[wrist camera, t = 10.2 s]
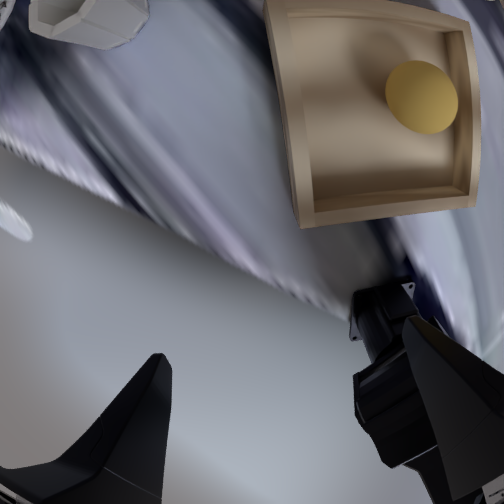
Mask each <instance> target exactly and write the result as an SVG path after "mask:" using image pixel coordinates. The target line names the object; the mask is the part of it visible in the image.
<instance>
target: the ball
mask: <svg viewBox="0 0 504 504" xmlns="http://www.w3.org/2000/svg"><path fill="white" fill-rule="evenodd" d="M385 95H386V100H387V104H388V107H389V109H390V111H391V112H392V114H393V115H394V117H395V118H396V119H397V120H398V121H399V122H400V123H401V124H402V125H403V126H405V127H406V128H408V129H410V130H412V131H414V132H417V133H421V134H434V133H438V132H441V131H443V130H444V129H446V128H447V127H448V126H449V125H450V124H451V123H452V122H453V120H454V118H455V116H456V113H457V109H458V97H457V93H456V90H455V87H454V85H453V83H452V82H451V80H450V79H449V77H448V76H447V75H446V74H445V73H444V72H443V71H442V70H441V69H439V68H438V67H436V66H435V65H433V64H431V63H428V62H425V61H419V60H413V61H407V62H404V63H402V64H400V65H398V66H397V67H396V68H394V69H393V71H392V72H391V73H390V75H389V77H388V79H387V82H386V88H385Z"/></svg>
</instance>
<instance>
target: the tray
mask: <svg viewBox="0 0 504 504" xmlns="http://www.w3.org/2000/svg"><path fill="white" fill-rule="evenodd" d="M262 11H263V15H264V20H265V25H266V30H267V36H268V41H269V46H270V52H271V57H272V63H273V68H274V74H275V80H276V86H277V92H278V99H279V105H280V112H281V118H282V125H283V132H284V139H285V146H286V154H287V162H288V169H289V178H290V186H291V194H292V203H293V212H294V215H295V217H296V220H297V222H298V225H299V227H300V229H306V228H313V227H320V226H328V225H335V224H342V223H349V222H356V221H364V220H371V219H379V218H386V217H394V216H402V215H410V214H417V213H425V212H434V211H442V210H450V209H458V208H467V207H475V206H476V199H477V191H478V182H479V171H480V155H481V105H480V90H479V79H478V70H477V62H476V55H475V49H474V44H473V38H472V33H471V29H470V24H469V22H468V21H465V20H462V19H459V18H456V17H453V16H450V15H447V14H443V13H440V12H437V11H433V10H429V9H425V8H422V7H417V6H413V5H408V4H404V3H399V2H393V1H388V0H264V5H263V10H262ZM413 60H419V61H425V62H428V63H431V64H433V65H435V66H436V67H438V68H439V69H441V70H442V71H443V72H444V73H445V74H446V75H447V76H448V77H449V79H450V80H451V82H452V83H453V85H454V87H455V90H456V93H457V97H458V109H457V113H456V116H455V118H454V120H453V122H452V123H451V124H450V125H449V126H448V127H447V128H446V129H444V130H443V131H441V132H438V133H434V134H421V133H417V132H414V131H412V130H410V129H408V128H406V127H405V126H403V125H402V124H401V123H400V122H399V121H398V120H397V119H396V118H395V117H394V115H393V114H392V112H391V111H390V109H389V107H388V104H387V100H386V95H385V88H386V82H387V79H388V77H389V75H390V73H391V72H392V71H393V69H394V68H396V67H397V66H398V65H400V64H402V63H404V62H407V61H413Z"/></svg>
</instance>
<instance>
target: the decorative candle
mask: <svg viewBox="0 0 504 504" xmlns="http://www.w3.org/2000/svg"><path fill="white" fill-rule="evenodd" d="M15 1H16V0H0V30H1V29H2V28H3V27H4V25H5V23H6V21H7V19H8V17H9V15H10V14H11V12H12V10H13V7H14V4H15Z"/></svg>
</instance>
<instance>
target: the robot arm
mask: <svg viewBox="0 0 504 504" xmlns="http://www.w3.org/2000/svg"><path fill="white" fill-rule="evenodd" d="M409 285H410V286H409ZM414 289H415V283H414V282H413V280H407V281H402V282H398V283H393V284H388V285H383V286H378V287H373V288H368V289H363V290H358V291H355V292H354V293H353V298H352V311H351V323H350V333H349V338H350V340H351V341H357V340H363V343H364V345H365V347H366V350H367V353H368V356H369V358H370V361H371V363H372V364H371V365H369V366H368V367H366V368H365V369H363V370H362V371H360V372H357V373H356V374H354V375H353V385H354V386H353V387H354V407H355V416H356V418H357V420H358V423H359V424H360V425H361V427H362V428H363V429H364V430H365V432H366V433H368V434H369V435H370V437H371V438H372V440H373V442H374V444H375V446H376V448H377V451H378V453H379V456H380V458H381V461H382V462H383V463H385V464H386V465H387V466H388V467H390V468H392V469H393V468H396V467H398V466H400V465H404V466H406V467H408V468H410V469H413V470H415V471H417V472H418V473H419V475H420V477H421V479H422V481H423V483H424V485H425V487H426V489H427V491H428V494H429V496H430V498H431V500H432V502H433V504H504V374H502V373H501V372H499V371H497V370H496V369H494V368H493V367H491V366H490V365H489V364H487V363H486V362H484V361H482V360H481V359H480V358H479V357H477V356H476V355H474V354H473V353H471V352H470V351H469V350H467V349H466V348H464V347H463V346H461V345H460V344H459V343H457V342H456V341H454V340H453V339H451V338H450V337H449V336H448V334H447V333H446V332H445V330H444V329H443V328H442V326H441V325H440V324H439V322H438V321H437V320H436V318H435V317H434V316H432V317H430V318H429V319H428V321H427V322H426V321H425V320H423V319H422V317H421V316H420V314H419V312H418V309H417V307H416V306H415V304H414V303H413V301H412V298H413V293H414ZM358 295H360V296H358ZM357 296H358V297H357ZM171 398H172V368H171V365H170V364H169V362H168V360H167V358H166V356H165V355H164V354H163V353H155V354H153V355H151V356H150V358H149V359H148V360H147V361H146V362H145V364H144V365H143V366H142V367H141V368H140V369H139V371H138V372H137V373H136V374H135V375H134V376H133V378H132V379H131V380H130V381H129V382H128V383H127V384H126V386H125V387H124V388H123V389H122V390H121V391H120V393H119V394H118V395H117V396H116V397H115V398H114V400H113V401H112V402H111V403H110V404H109V405H108V407H107V408H106V409H105V410H104V411H103V413H102V414H101V415H100V417H98V418H97V420H96V421H95V422H94V423H93V424H92V425H91V427H90V428H89V429H88V430H87V431H86V432H85V433H84V434H83V435H82V436H81V437H80V438H79V439H78V440H77V441H76V442H75V443H74V444H73V445H72V446H71V447H70V448H69V449H67V450H66V451H65V452H64V453H63V454H62V455H61V456H60V457H59V458H57V459H56V460H54V461H51V462H48V463H44V464H39V465H34V466H29V467H23V468H17V469H6V468H3V467H1V466H0V483H1V484H2V485H3V486H5V487H6V488H8V489H9V490H11V491H13V492H14V493H16V494H17V495H16V498H14V497H12V496H10V495H8V494H7V493H5V492H3V491H1V490H0V504H161V501H162V499H161V498H162V488H163V476H164V465H165V455H166V447H167V438H168V430H169V421H170V413H171V402H172V401H171V400H172V399H171Z"/></svg>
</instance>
